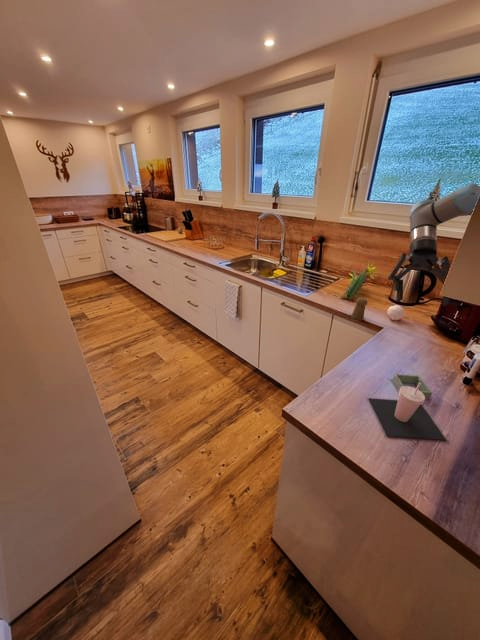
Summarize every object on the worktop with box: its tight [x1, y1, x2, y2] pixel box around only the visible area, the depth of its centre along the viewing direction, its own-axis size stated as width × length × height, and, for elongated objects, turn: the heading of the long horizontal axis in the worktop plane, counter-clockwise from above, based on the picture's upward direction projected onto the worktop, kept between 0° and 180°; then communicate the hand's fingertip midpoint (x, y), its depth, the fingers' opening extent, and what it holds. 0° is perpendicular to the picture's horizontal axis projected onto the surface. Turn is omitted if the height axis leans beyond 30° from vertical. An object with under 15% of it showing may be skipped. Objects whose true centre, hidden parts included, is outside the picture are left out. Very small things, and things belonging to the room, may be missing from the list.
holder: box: [391, 373, 433, 400], centre depth 90 cm, size 8×8×3 cm
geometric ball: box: [386, 304, 406, 321], centre depth 134 cm, size 8×8×8 cm
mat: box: [368, 398, 447, 442], centre depth 79 cm, size 16×14×1 cm
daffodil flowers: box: [341, 259, 377, 302], centre depth 164 cm, size 17×15×35 cm
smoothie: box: [395, 382, 426, 422], centre depth 76 cm, size 6×6×14 cm
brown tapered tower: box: [350, 296, 368, 322], centre depth 133 cm, size 6×6×11 cm
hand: (423, 302), depth 83 cm, fingers open, 13 cm apart
